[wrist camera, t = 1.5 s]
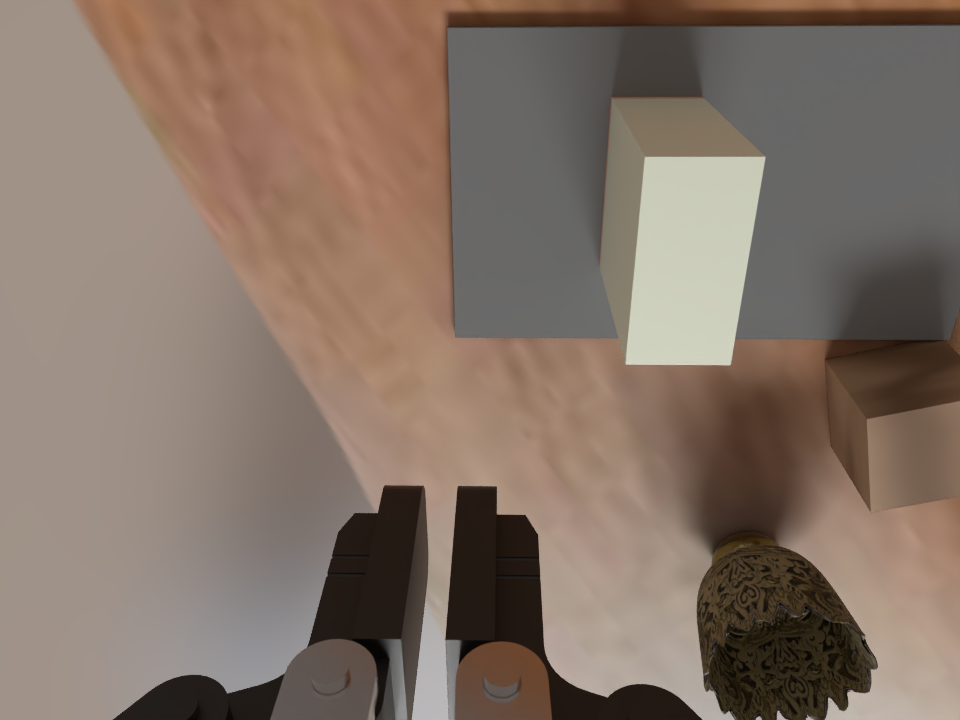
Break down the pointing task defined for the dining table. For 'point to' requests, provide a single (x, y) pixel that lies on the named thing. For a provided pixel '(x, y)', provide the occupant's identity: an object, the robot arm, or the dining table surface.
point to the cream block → (676, 228)
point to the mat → (761, 120)
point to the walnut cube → (897, 422)
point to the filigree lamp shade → (776, 634)
